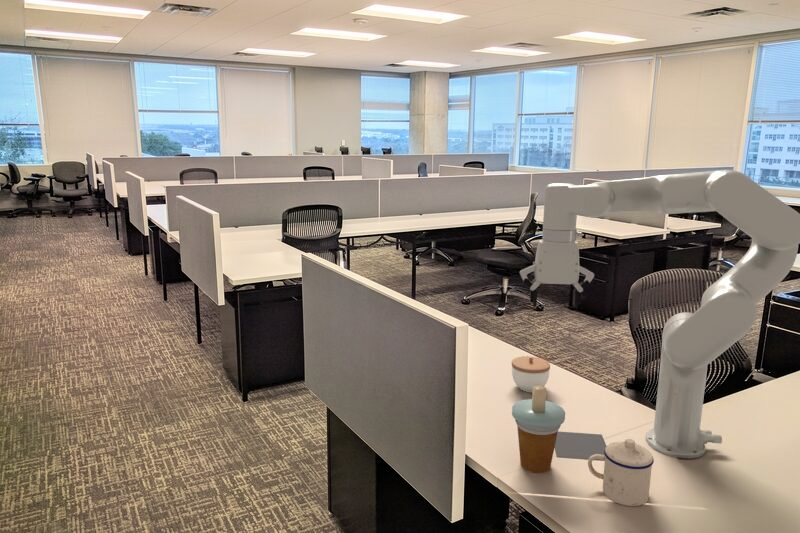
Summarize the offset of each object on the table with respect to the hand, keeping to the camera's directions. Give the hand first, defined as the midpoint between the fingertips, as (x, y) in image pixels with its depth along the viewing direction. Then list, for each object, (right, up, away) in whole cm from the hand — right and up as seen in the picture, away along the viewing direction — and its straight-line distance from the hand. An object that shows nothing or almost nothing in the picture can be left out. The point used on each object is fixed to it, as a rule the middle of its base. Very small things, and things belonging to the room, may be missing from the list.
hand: (554, 306), depth 139 cm
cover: (-8, -22, -17) cm, 29 cm away
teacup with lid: (+6, -36, -23) cm, 43 cm away
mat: (+4, -32, -6) cm, 33 cm away
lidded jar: (0, -26, +26) cm, 37 cm away
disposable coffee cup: (-8, -34, -14) cm, 38 cm away
